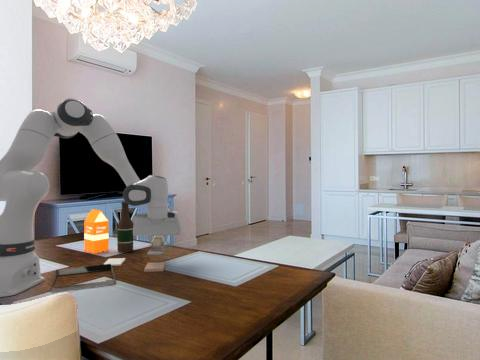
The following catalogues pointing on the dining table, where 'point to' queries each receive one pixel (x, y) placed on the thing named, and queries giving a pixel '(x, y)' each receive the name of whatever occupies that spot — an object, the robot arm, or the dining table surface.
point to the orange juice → (96, 232)
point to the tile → (154, 267)
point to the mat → (115, 261)
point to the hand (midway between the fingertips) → (157, 245)
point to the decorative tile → (83, 270)
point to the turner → (156, 247)
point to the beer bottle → (125, 230)
